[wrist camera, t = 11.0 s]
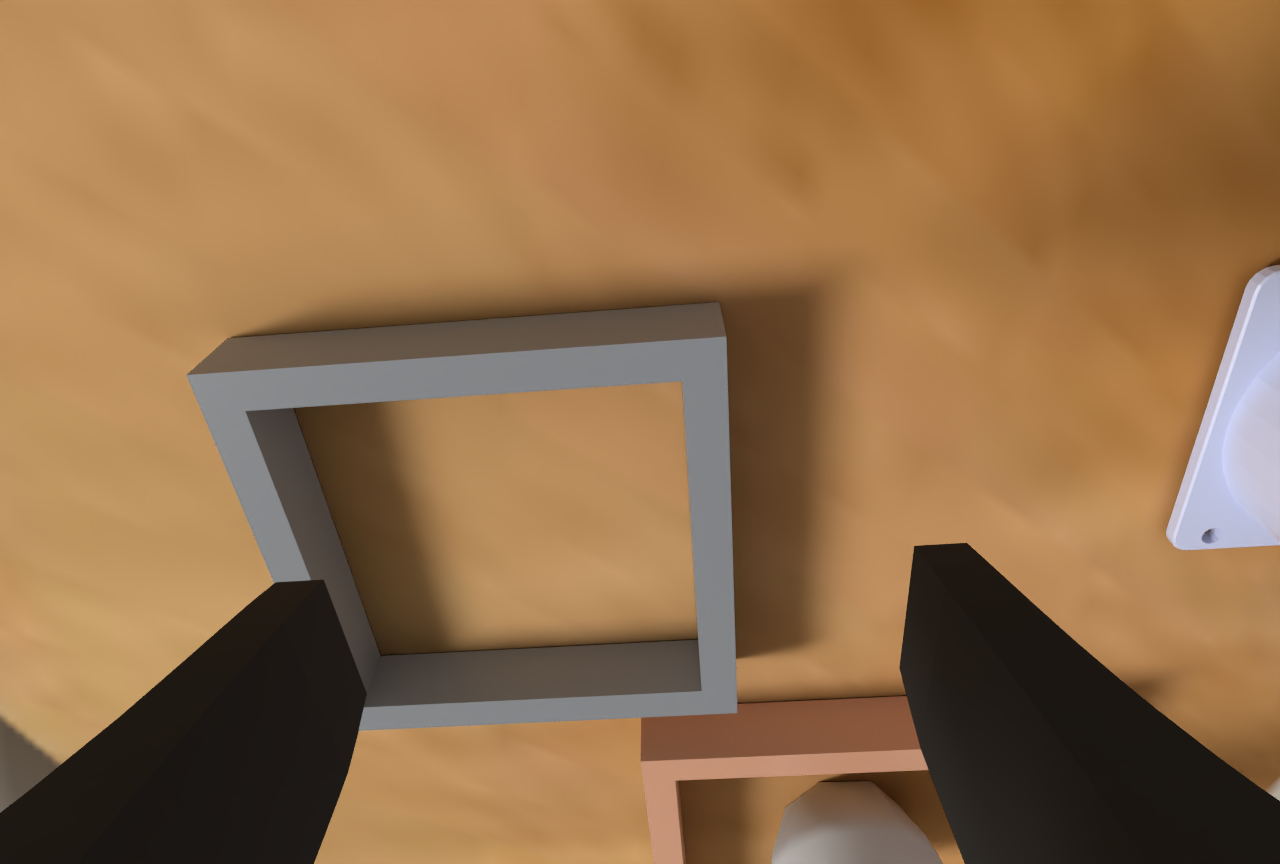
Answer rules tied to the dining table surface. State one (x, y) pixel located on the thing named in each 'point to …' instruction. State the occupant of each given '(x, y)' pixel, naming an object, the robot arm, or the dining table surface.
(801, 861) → the salt shaker
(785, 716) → the salmon pink square frame
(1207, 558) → the dining table surface
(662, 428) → the dining table surface
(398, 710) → the grey square frame
